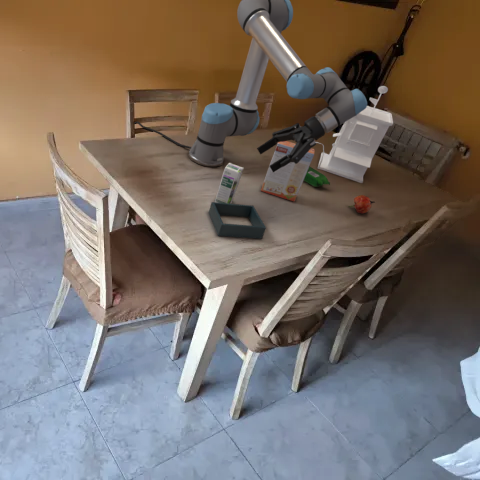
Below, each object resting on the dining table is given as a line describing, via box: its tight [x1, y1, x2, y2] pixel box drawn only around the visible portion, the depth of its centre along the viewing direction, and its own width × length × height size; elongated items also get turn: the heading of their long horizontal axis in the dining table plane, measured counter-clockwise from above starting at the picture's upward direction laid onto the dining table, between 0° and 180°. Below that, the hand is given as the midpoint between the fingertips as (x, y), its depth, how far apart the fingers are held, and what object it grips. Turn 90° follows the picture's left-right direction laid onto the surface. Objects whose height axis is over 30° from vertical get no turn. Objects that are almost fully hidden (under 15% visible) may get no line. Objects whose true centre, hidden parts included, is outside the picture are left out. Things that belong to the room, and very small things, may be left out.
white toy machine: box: [315, 85, 394, 184], centre depth 197 cm, size 24×28×40 cm
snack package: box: [303, 165, 331, 188], centre depth 187 cm, size 7×16×5 cm, turn 36°
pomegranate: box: [348, 194, 376, 214], centre depth 172 cm, size 7×7×10 cm
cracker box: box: [260, 140, 316, 202], centre depth 167 cm, size 14×6×21 cm, turn 71°
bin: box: [208, 201, 267, 240], centre depth 146 cm, size 16×14×4 cm
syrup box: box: [214, 162, 244, 204], centre depth 155 cm, size 6×6×14 cm
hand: (264, 160), depth 151 cm, fingers open, 13 cm apart
